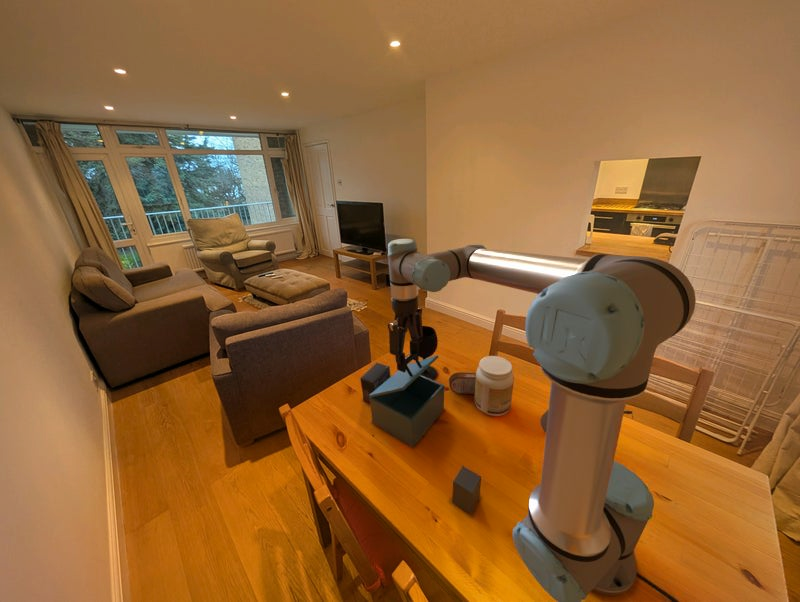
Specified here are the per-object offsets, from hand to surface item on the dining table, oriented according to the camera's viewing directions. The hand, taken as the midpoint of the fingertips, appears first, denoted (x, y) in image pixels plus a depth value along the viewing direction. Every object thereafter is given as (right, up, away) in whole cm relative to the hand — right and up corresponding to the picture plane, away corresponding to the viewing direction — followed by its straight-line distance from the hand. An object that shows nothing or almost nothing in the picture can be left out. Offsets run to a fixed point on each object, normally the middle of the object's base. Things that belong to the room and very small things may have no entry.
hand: (408, 364), depth 90 cm
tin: (+23, -14, +18) cm, 33 cm away
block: (+14, -30, -17) cm, 37 cm away
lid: (-1, -5, +3) cm, 6 cm away
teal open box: (+1, -20, +9) cm, 22 cm away
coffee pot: (+51, -22, -2) cm, 56 cm away
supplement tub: (+30, -17, +12) cm, 36 cm away
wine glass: (+8, -10, +29) cm, 32 cm away
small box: (-11, -16, +20) cm, 28 cm away
